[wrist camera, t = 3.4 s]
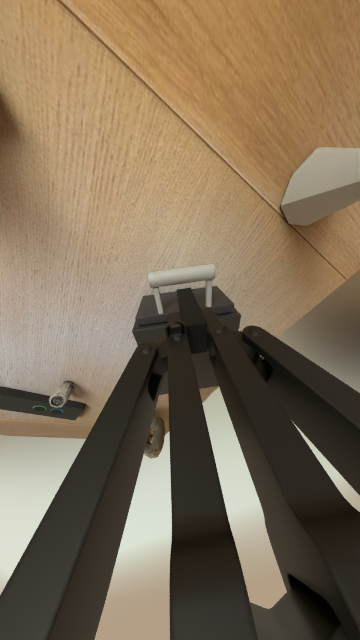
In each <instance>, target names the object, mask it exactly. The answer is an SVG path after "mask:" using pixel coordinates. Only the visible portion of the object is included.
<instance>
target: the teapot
mask: <svg viewBox="0 0 360 640" xmlns="http://www.w3.org/2000/svg"><path fill="white" fill-rule="evenodd" d="M153 436H154V439H153V442H152V443H150V441H151V439H152V437H153ZM164 436H165V426H164V422H163V420H162V418H160V417H159V416H158V415H157V416H153V419H152V423H151V427H150V431H149V435H148V439H147V442H146V446H145V450H144V454H145V455H146V456H148V457H149V458H156V457H158V455H159V454H160V452H161V450H162V447H163V443H164Z"/></svg>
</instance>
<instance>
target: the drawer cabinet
mask: <svg viewBox="0 0 360 640" xmlns="http://www.w3.org/2000/svg"><path fill="white" fill-rule="evenodd" d="M216 316H217V317H218V319H219V320H220V322H221V324H222V325H225V326H227V327H228V328H229V329H230V330H231V331H238V329H239V324H240V318H241V315H240V314H239V313H238V311H237V310H236V309H235V308H234V310H233V312H230V313H223V314H222V315H216ZM167 324H168V323H161V324H154V325H141V326H138V324H137V321H135V324H134V328H133V330H132V332H133V335H134V337H135V339H136V342H137V344H138V346H139V345H140V344H142V343H144V342H149V341H150V342H154V343H155V344H158V343H161V342H163V341H164V340H165V339H166V338H167V336H166V331H165V326H166V325H167ZM191 356H192V360H193V365H194V369H195V374H196V378H197V383H198V387H199V389H200V388H206V387H213V386H219V384H218V382H217V379H216V376H215V373H214V370H213V367H212V365H211V362H210V364H209V351H208V348H207V352H204V353H197V354H191ZM168 393H169V391H168V372H167V373H165V374H164V377H163V381H162V385H161V389H160V392H159V395H162V394H168Z"/></svg>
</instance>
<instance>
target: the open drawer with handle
mask: <svg viewBox="0 0 360 640" xmlns="http://www.w3.org/2000/svg"><path fill="white" fill-rule="evenodd" d="M215 274H216V270H215V265H214V264H206V265H199V266H191V267H184V268H177V269H169V270H162V271H155V272H148V274H147V276H148V282H149V285H150V287H151V288H153V292H154V295H148V296H143V298H142V301H141V304H140V307H139V310H138V312H137V315H136V321H137V324H138V326H141V325H154V324H161V323H168V318H167V316H168V315H169V313H172V312H179V304H178V296H177V292H170V293H163V294H160V292H159V287H161V286H168V285H175V284H182V283H189V282H197V281H204V280H206V287H205V288H198V289H191V290H192V292H193V294H194V296H195V298H196V300H197V302H198V304H199V306H200V308H203V307H210V308H211V309H213V311H214V313H215V314H216V315H222V314H223V313H230V312H233V310H234V303H233V302H232V301H231V300H230V299H229V298H228V297H227V296H226V295H225V294H224V293H223V292H222V291H221V290H220V289H219V288H218V287H217V286H212V279H214V278H215Z"/></svg>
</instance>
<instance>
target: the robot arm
mask: <svg viewBox="0 0 360 640" xmlns="http://www.w3.org/2000/svg"><path fill="white" fill-rule="evenodd" d="M177 296H178V304H179V312H172V313H169V315H168V316H167V318H168V324H167V325H166V326H165V331H166V336H167V338H166V339H165V340H164V341H163V342H161V343H158V344H155V343H154V342H150V341H149V342H144V343H142V344H140V345H139V346H138V347H137V348H136V350H135V352H134V353H133V355H132V357H131V359H130V361H129V362H128V364H127V366H126V368H125V370H124V372H123V373H122V375H121V377H120V379H119V381H118V382H117V384H116V386H115V388H114V390H113V392H112V393H111V395H110V397H109V399H108V401H107V402H106V404H105V406H104V408H103V410H102V412H101V413H100V415H99V417H98V419H97V421H96V422H95V424H94V426H93V428H92V430H91V432H90V433H89V435H88V437H87V439H86V441H85V443H84V444H83V446H82V448H81V450H80V452H79V453H78V455H77V457H76V459H75V461H74V463H73V464H72V466H71V468H70V470H69V472H68V474H67V475H66V477H65V479H64V481H63V483H62V484H61V486H60V488H59V490H58V492H57V494H56V495H55V497H54V499H53V501H52V503H51V504H50V506H49V508H48V510H47V512H46V513H45V515H44V517H43V519H42V521H41V522H40V524H39V526H38V528H37V530H36V532H35V533H34V535H33V537H32V539H31V541H30V542H29V544H28V546H27V548H26V550H25V552H24V553H23V555H22V557H21V559H20V561H19V562H18V564H17V566H16V568H15V570H14V572H13V574H12V576H11V577H10V579H9V581H8V582H7V584H6V586H5V588H4V590H3V592H2V593H1V595H0V640H94V639H95V635H96V632H97V628H98V625H99V621H100V617H101V614H102V611H103V607H104V604H105V600H106V596H107V592H108V589H109V585H110V581H111V577H112V573H113V569H114V565H115V562H116V558H117V554H118V550H119V546H120V542H121V539H122V535H123V531H124V527H125V523H126V519H127V516H128V512H129V508H130V504H131V500H132V496H133V492H134V489H135V485H136V481H137V477H138V473H139V469H140V465H141V462H142V458H143V454H144V450H145V446H146V442H147V439H148V435H149V431H150V427H151V423H152V419H153V416H154V412H155V408H156V404H157V400H158V396H159V392H160V389H161V385H162V381H163V377H164V374H165V373H167V372H168V391H169V428H170V462H171V463H170V464H171V500H172V545H171V558H170V640H360V512H359V511H357V510H356V509H355V508H354V507H352V506H351V505H350V503H349V502H348V501H347V500H346V499H345V498H344V497H343V496H342V494H341V493H340V491H339V490H338V489H337V487H336V486H335V484H334V483H333V481H332V480H331V479H330V477H329V475H328V474H327V473H326V471H325V470H324V468H323V467H322V465H321V464H320V462H319V461H318V460H317V458H316V456H315V455H314V453H313V452H312V450H311V449H310V447H309V446H308V444H307V443H306V441H305V440H304V439H303V437H302V436H301V434H300V433H299V431H298V430H297V428H296V427H295V425H296V426H297V427H298V428H299V429H300V430H301V431H302V432H303V433H304V435H305V436H306V437H307V438H308V439H309V440H310V441H311V442H312V443H313V444H314V445H315V447H316V448H317V449H318V450H319V451H320V452H321V453H322V454H323V456H324V457H325V458H326V459H327V460H328V461H329V462H330V463H331V464H332V465H333V466H334V468H335V469H336V470H337V471H338V472H339V473H340V474H341V475H342V476H343V477H344V479H345V480H346V481H347V482H348V483H349V484H350V485H351V486H352V487H353V489H354V490H355V491H356V492H357V493H358V494H359V495H360V393H358V392H357V391H356V390H354V389H352V388H351V387H350V386H348V385H347V384H345V383H344V382H342V381H340V380H339V379H338V378H336V377H335V376H333V375H332V374H330V373H329V372H327V371H325V370H324V369H322V368H321V367H319V366H318V365H316V364H315V363H313V362H312V361H310V360H309V359H307V358H306V357H304V356H303V355H301V354H300V353H298V352H297V351H295V350H294V349H292V348H291V347H289V346H288V345H286V344H285V343H283V342H282V341H280V340H279V339H277V338H276V337H274V336H273V335H271V334H270V333H268V332H267V331H265V330H264V329H262V328H260V327H257V326H247V327H245V328H244V329H243V332H241V331H231V330H230V329H229V328H228V327H227V326H225V325H222V324H221V322H220V320H219V319H218V317H217V316H216V314H215V313H214V311H213V309H211V308H210V307H203V308H200V306H199V304H198V302H197V300H196V298H195V296H194V294H193V292H192V290H191V288H186V289H179V290H177ZM207 348H208V351H209V364H210V362H211V365H212V367H213V370H214V373H215V376H216V379H217V382H218V384H219V387H220V390H221V393H222V396H223V398H224V401H225V404H226V407H227V410H228V413H229V415H230V418H231V421H232V424H233V427H234V430H235V432H236V435H237V438H238V441H239V443H240V446H241V449H242V452H243V455H244V458H245V461H246V463H247V466H248V469H249V472H250V475H251V478H252V480H253V483H254V486H255V489H256V492H257V494H258V497H259V500H260V503H261V506H262V509H263V513H264V517H265V525H266V529H267V533H268V536H269V539H270V543H271V545H272V549H273V552H274V554H275V557H276V560H277V563H278V566H279V569H280V572H281V575H282V578H283V581H284V584H285V587H286V590H287V593H286V594H285V595H284V596H283V597H282V598H281V599H280V600H279V601H278V602H277V603H276V604H275V605H274V606H273V607H272V608H271V609H266V608H263V607H261V606H258V605H255V604H253V603H250V602H249V597H248V593H247V589H246V585H245V581H244V576H243V572H242V568H241V564H240V560H239V557H238V553H237V549H236V546H235V542H234V538H233V535H232V532H231V529H230V524H229V521H228V516H227V512H226V508H225V504H224V499H223V494H222V490H221V486H220V481H219V477H218V472H217V468H216V463H215V459H214V454H213V450H212V445H211V441H210V437H209V432H208V427H207V423H206V418H205V414H204V410H203V405H202V401H201V396H200V392H199V387H198V383H197V378H196V374H195V369H194V365H193V360H192V356H191V354H197V353H204V352H207ZM260 355H261V356H262V357H263V358H262V357H260ZM291 420H292V421H293V422H294V424H295V425H294V424H293V422H292V421H291Z"/></svg>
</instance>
